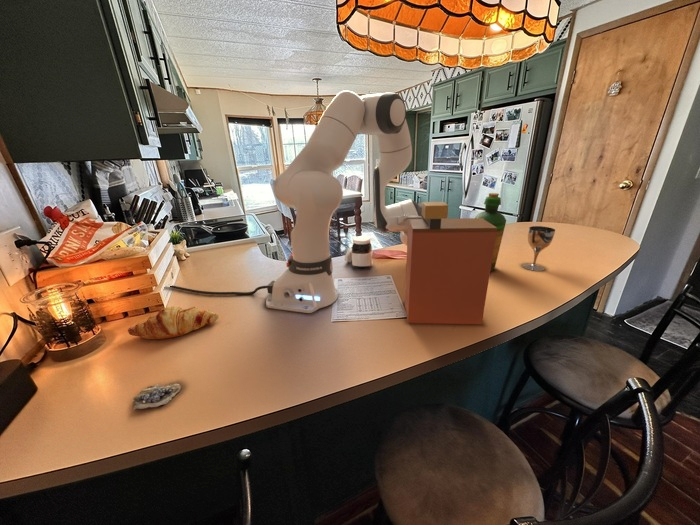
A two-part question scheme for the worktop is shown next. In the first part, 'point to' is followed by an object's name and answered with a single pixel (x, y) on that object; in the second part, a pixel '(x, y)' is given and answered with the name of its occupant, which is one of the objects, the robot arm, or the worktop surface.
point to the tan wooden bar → (433, 213)
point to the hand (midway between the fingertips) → (420, 216)
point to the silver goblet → (539, 243)
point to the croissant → (172, 323)
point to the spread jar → (360, 253)
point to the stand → (448, 270)
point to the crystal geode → (156, 396)
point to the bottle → (494, 221)
